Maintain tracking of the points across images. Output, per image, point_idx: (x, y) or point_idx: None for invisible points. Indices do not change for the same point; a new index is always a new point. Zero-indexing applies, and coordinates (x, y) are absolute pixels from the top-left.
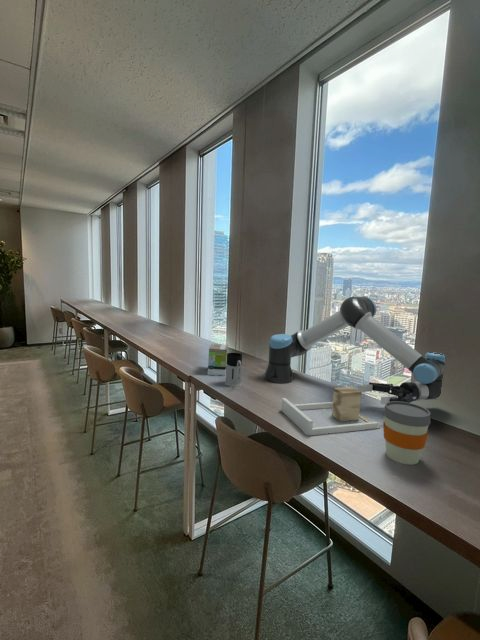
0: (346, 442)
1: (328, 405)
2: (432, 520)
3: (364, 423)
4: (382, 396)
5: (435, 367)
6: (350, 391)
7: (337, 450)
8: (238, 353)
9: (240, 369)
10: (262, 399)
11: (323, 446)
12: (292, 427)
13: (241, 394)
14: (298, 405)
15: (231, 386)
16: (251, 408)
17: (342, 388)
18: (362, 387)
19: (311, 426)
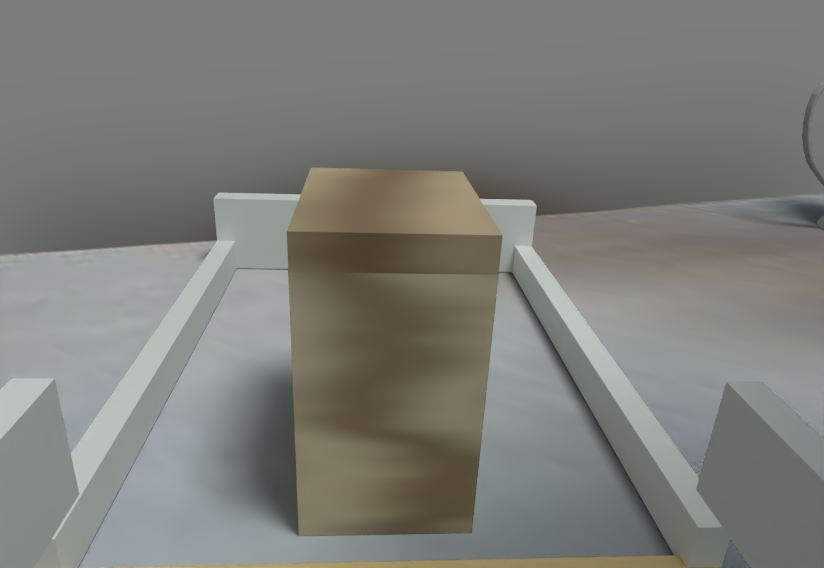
0: (60, 324)
1: (608, 415)
2: None
3: (106, 429)
4: (34, 396)
5: None
6: (337, 195)
7: (39, 282)
8: None
9: (805, 120)
10: (669, 253)
11: (108, 266)
12: None
13: (713, 227)
14: (534, 275)
15: (817, 224)
16: (538, 221)
17: (443, 190)
18: (761, 468)
19: (217, 223)
